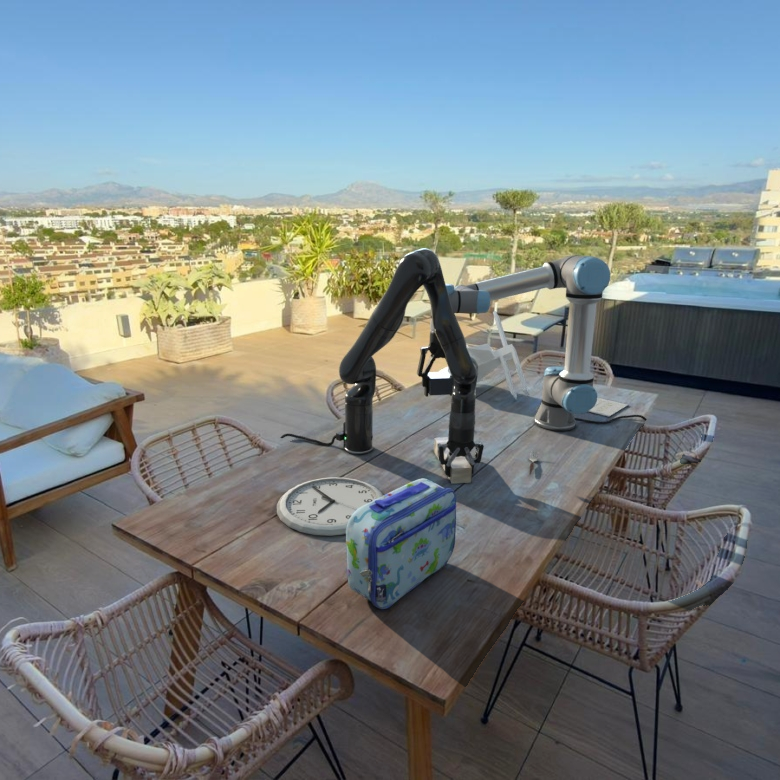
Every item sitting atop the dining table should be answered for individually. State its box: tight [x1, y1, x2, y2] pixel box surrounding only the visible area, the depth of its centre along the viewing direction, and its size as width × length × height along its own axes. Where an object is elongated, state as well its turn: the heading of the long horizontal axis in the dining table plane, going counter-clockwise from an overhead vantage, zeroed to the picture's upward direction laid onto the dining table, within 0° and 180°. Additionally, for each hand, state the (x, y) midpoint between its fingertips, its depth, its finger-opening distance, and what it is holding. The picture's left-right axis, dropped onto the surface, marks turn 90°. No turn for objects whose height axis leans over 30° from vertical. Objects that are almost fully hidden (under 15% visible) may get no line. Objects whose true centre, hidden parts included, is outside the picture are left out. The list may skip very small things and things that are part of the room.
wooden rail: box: [433, 436, 472, 485], centre depth 167 cm, size 24×6×5 cm, turn 8°
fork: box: [529, 450, 539, 475], centre depth 168 cm, size 3×16×2 cm, turn 160°
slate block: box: [427, 371, 454, 396], centre depth 182 cm, size 8×8×6 cm
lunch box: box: [345, 477, 457, 610], centre depth 110 cm, size 26×11×21 cm, turn 134°
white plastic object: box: [438, 310, 531, 400], centre depth 245 cm, size 37×45×31 cm
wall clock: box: [276, 476, 385, 537], centre depth 142 cm, size 30×2×30 cm
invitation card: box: [587, 397, 629, 418], centre depth 226 cm, size 21×1×15 cm
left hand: (458, 475), depth 159 cm, fingers closed on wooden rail, 6 cm apart
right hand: (438, 394), depth 183 cm, fingers closed on slate block, 8 cm apart
